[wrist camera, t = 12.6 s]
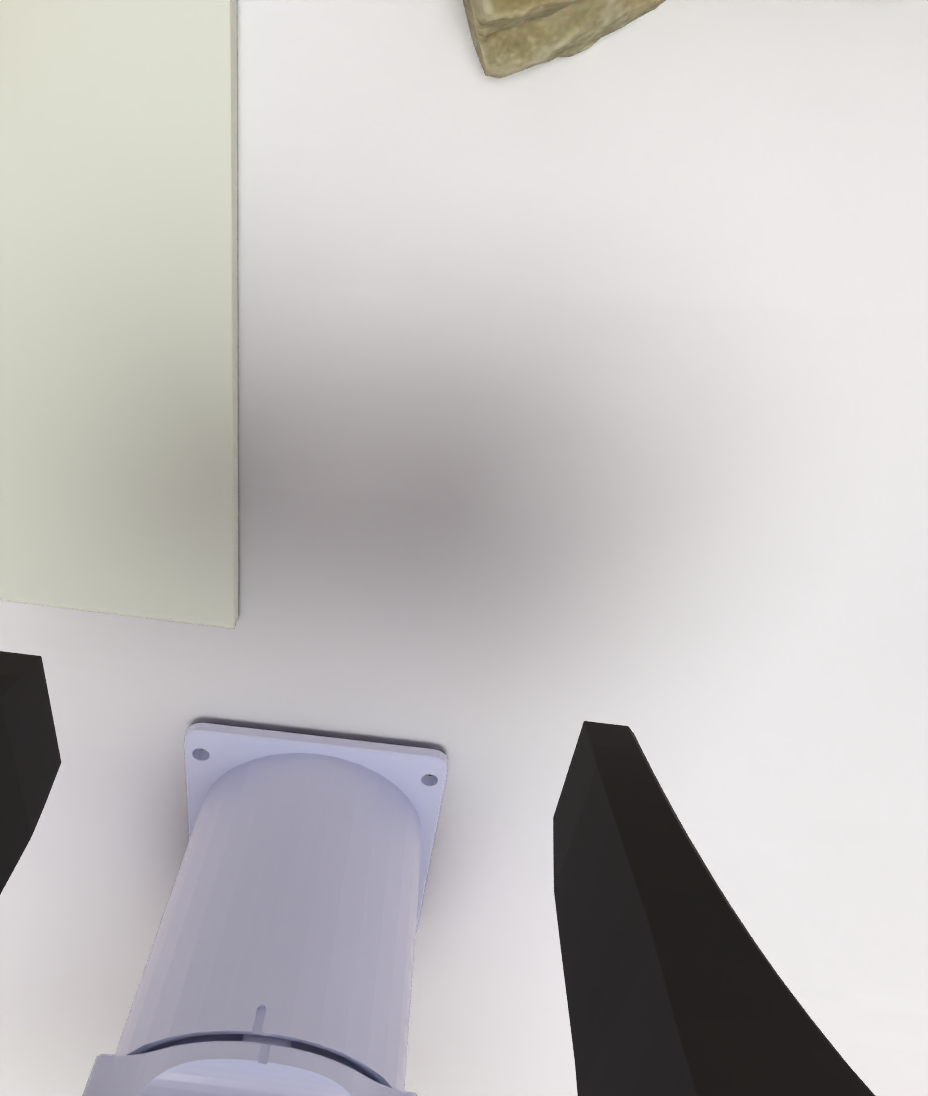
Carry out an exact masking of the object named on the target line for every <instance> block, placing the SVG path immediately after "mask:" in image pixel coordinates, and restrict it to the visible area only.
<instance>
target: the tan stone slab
mask: <svg viewBox="0 0 928 1096" xmlns="http://www.w3.org/2000/svg"><path fill="white" fill-rule="evenodd" d="M664 1H665V0H463V2H464V6H465V11H466V15H467V19H468V23H469V28H470V32H471V36H472V40H473V44H474V46H475V49H476V52H477V54H478V57H479V60H480V62H481V65H482V67H483V70H484V72H485V75H487V76H492V77H497V78H502V77H505V76H508V75H510V74H513V73H516V72H519V71H521V70H524V69H527V68H529V67H532V66H534V65H537V64H540V63H544V62H548V61H550V60H552V59H554V58H556V57H570V56H573V55H575V54H577V53H579V52H581V51H583V50H586V49H588V48H589V47H591V46H592V45H593V44H594V43H596V42H597V41H598V40H599V39H600V38H601V37H603V36H605V35H607V34H609V33H611V32H614V31H616V30H618V29H620V28H622V27H624V26H625V25H626V24H628V23H630V22H631V21H633V20H635V19H637V18H639V17H640V16H642V15H644V14H646V13H647V12H650V11H652V10H654V9H655V8H657V7H658V6H659V5H660V4H662V3H663V2H664Z"/></svg>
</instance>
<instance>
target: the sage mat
mask: <svg viewBox="0 0 928 1096" xmlns="http://www.w3.org/2000/svg"><path fill="white" fill-rule="evenodd" d="M0 600H1V601H9V602H17V603H26V604H34V605H42V606H50V607H58V608H67V609H75V610H83V611H91V612H99V613H108V614H116V615H124V616H132V617H140V618H149V619H157V620H165V621H173V622H182V623H190V624H198V625H206V626H214V627H223V628H231V629H234V628H235V625H236V623H237V620H238V251H237V0H0Z"/></svg>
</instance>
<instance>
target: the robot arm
mask: <svg viewBox="0 0 928 1096" xmlns="http://www.w3.org/2000/svg"><path fill="white" fill-rule="evenodd" d="M184 747H185V766H186V785H187V805H188V824H189V843H188V846H187V849H186V852H185V854H184V857H183V860H182V863H181V866H180V869H179V872H178V875H177V878H176V880H175V883H174V886H173V889H172V892H171V895H170V898H169V901H168V904H167V906H166V909H165V912H164V915H163V918H162V921H161V924H160V927H159V930H158V932H157V935H156V938H155V941H154V944H153V947H152V950H151V953H150V956H149V958H148V961H147V964H146V967H145V970H144V973H143V976H142V979H141V981H140V984H139V987H138V990H137V993H136V996H135V999H134V1002H133V1005H132V1007H131V1010H130V1013H129V1016H128V1019H127V1022H126V1025H125V1028H124V1031H123V1033H122V1036H121V1039H120V1042H119V1045H118V1048H117V1051H116V1054H115V1055H108V1054H101V1055H99V1056H97V1057H96V1060H95V1063H94V1065H93V1068H92V1071H91V1074H90V1076H89V1079H88V1082H87V1085H86V1087H85V1090H84V1093H83V1096H417V1094H416V1093H413V1092H408V1091H404V1086H405V1072H406V1058H407V1043H408V1029H409V1015H410V1001H411V987H412V973H413V958H414V944H415V933H416V931H417V927H418V921H419V916H420V911H421V906H422V901H423V895H424V890H425V885H426V880H427V875H428V870H429V864H430V859H431V854H432V849H433V844H434V838H435V833H436V828H437V823H438V818H439V812H440V807H441V802H442V797H443V792H444V786H445V781H446V776H447V771H448V758H447V756H446V755H445V754H444V753H443V752H441V751H439V750H435V749H428V748H419V747H410V746H402V745H393V744H384V743H376V742H367V741H358V740H349V739H341V738H332V737H323V736H314V735H306V734H297V733H288V732H279V731H271V730H262V729H253V728H245V727H236V726H227V725H218V724H210V723H195V724H193V725H191V726H190V727H189V728H188V730H187V732H186V735H185V738H184ZM200 748H201V749H204V750H206V751H203V750H200ZM60 764H61V759H60V753H59V748H58V743H57V737H56V732H55V727H54V721H53V716H52V711H51V705H50V700H49V695H48V689H47V684H46V679H45V673H44V668H43V663H42V658H41V656H35V655H27V654H18V653H10V652H2V651H0V894H1V892H2V890H3V888H4V887H5V885H6V883H7V881H8V879H9V877H10V876H11V874H12V872H13V870H14V868H15V866H16V865H17V863H18V861H19V859H20V857H21V855H22V853H23V852H24V850H25V848H26V846H27V844H28V842H29V840H30V838H31V837H32V835H33V832H34V830H35V827H36V825H37V822H38V820H39V818H40V815H41V813H42V810H43V808H44V806H45V803H46V801H47V798H48V795H49V793H50V790H51V788H52V785H53V782H54V780H55V777H56V775H57V772H58V769H59V767H60ZM428 774H431V775H434V776H427V775H428ZM553 841H554V894H555V903H556V911H557V920H558V928H559V937H560V945H561V953H562V961H563V969H564V977H565V985H566V993H567V1001H568V1010H569V1018H570V1026H571V1034H572V1042H573V1050H574V1058H575V1068H576V1080H577V1092H578V1096H875V1095H874V1094H873V1093H872V1092H871V1090H870V1089H869V1088H868V1087H867V1086H866V1085H865V1084H864V1082H863V1081H862V1080H861V1079H860V1078H859V1077H858V1076H857V1075H856V1073H855V1072H854V1071H853V1070H852V1069H851V1068H850V1066H849V1065H848V1064H847V1063H846V1062H845V1060H844V1059H843V1058H842V1057H841V1055H840V1054H839V1053H838V1052H837V1050H836V1049H835V1048H834V1047H833V1045H832V1044H831V1043H830V1042H829V1040H828V1039H827V1038H826V1037H825V1035H824V1034H823V1033H822V1032H821V1030H820V1029H819V1028H818V1027H817V1025H816V1024H815V1023H814V1022H813V1020H812V1019H811V1018H810V1017H809V1015H808V1014H807V1013H806V1011H805V1010H804V1009H803V1007H802V1006H801V1005H800V1003H799V1002H798V1001H797V999H796V998H795V997H794V996H793V994H792V993H791V992H790V990H789V989H788V988H787V986H786V985H785V984H784V982H783V981H782V980H781V978H780V977H779V975H778V974H777V973H776V971H775V970H774V968H773V967H772V966H771V964H770V963H769V962H768V960H767V959H766V957H765V956H764V954H763V953H762V951H761V950H760V949H759V947H758V946H757V944H756V943H755V941H754V940H753V938H752V937H751V935H750V934H749V932H748V931H747V929H746V928H745V926H744V925H743V923H742V922H741V920H740V919H739V917H738V916H737V914H736V913H735V911H734V910H733V908H732V907H731V905H730V904H729V902H728V901H727V899H726V897H725V896H724V894H723V893H722V891H721V890H720V888H719V886H718V885H717V883H716V882H715V880H714V878H713V877H712V875H711V873H710V872H709V870H708V868H707V867H706V865H705V863H704V862H703V860H702V858H701V857H700V855H699V853H698V852H697V850H696V848H695V847H694V845H693V843H692V842H691V840H690V838H689V837H688V835H687V833H686V831H685V830H684V828H683V826H682V824H681V822H680V821H679V819H678V817H677V815H676V814H675V812H674V810H673V808H672V806H671V804H670V803H669V801H668V799H667V797H666V795H665V793H664V792H663V790H662V788H661V786H660V784H659V782H658V780H657V778H656V776H655V775H654V773H653V771H652V769H651V767H650V765H649V763H648V761H647V759H646V757H645V755H644V753H643V751H642V749H641V747H640V745H639V743H638V741H637V739H636V737H635V735H634V733H633V732H632V731H631V729H630V728H629V727H628V726H621V725H613V724H605V723H596V722H588V721H584V723H583V726H582V729H581V732H580V735H579V739H578V742H577V745H576V748H575V751H574V754H573V757H572V761H571V764H570V767H569V770H568V773H567V776H566V780H565V783H564V786H563V789H562V792H561V795H560V798H559V802H558V805H557V808H556V811H555V814H554V817H553Z"/></svg>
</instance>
